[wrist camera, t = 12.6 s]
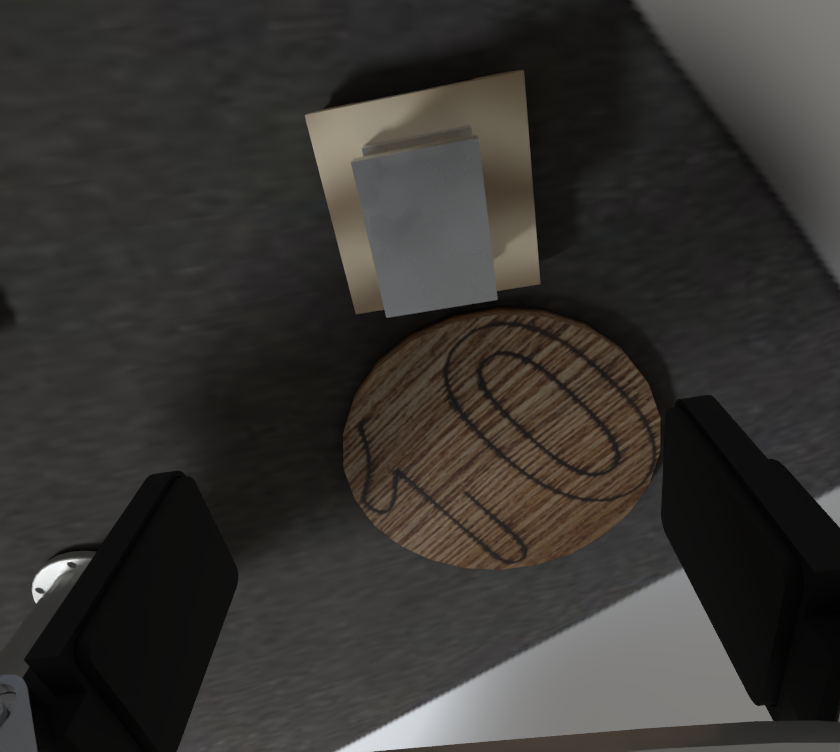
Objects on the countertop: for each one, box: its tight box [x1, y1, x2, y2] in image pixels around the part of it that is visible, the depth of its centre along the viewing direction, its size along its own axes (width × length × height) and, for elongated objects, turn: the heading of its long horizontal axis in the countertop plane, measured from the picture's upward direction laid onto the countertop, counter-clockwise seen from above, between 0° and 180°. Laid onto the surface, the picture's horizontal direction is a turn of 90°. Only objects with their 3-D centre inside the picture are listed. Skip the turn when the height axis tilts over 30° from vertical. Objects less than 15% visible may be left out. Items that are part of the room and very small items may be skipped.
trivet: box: [343, 306, 660, 570], centre depth 44 cm, size 25×25×2 cm
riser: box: [305, 70, 540, 314], centre depth 34 cm, size 12×12×3 cm
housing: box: [351, 125, 498, 318], centre depth 30 cm, size 6×8×6 cm
